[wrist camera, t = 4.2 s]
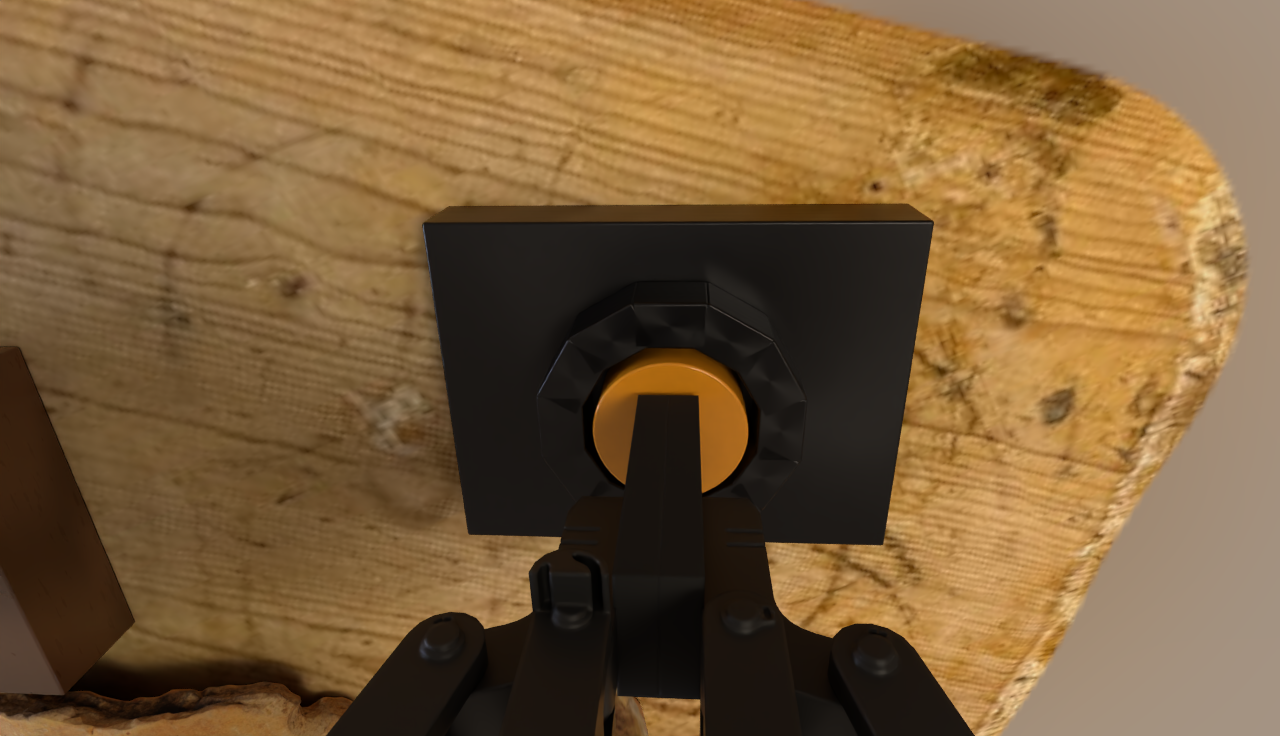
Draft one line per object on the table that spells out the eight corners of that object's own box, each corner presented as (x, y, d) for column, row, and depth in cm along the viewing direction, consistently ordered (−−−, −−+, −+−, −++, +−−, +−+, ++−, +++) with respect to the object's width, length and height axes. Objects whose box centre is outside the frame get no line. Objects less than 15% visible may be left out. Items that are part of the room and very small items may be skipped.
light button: (597, 335, 19) (588, 362, 17) (746, 337, 18) (752, 363, 17) (603, 463, 20) (595, 497, 19) (740, 465, 20) (745, 501, 18)
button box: (447, 205, 20) (393, 240, 16) (909, 202, 19) (961, 238, 15) (485, 495, 24) (450, 574, 20) (867, 503, 23) (900, 587, 20)
